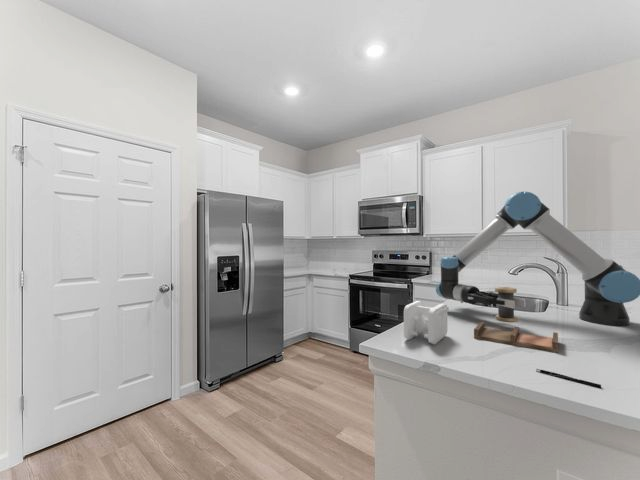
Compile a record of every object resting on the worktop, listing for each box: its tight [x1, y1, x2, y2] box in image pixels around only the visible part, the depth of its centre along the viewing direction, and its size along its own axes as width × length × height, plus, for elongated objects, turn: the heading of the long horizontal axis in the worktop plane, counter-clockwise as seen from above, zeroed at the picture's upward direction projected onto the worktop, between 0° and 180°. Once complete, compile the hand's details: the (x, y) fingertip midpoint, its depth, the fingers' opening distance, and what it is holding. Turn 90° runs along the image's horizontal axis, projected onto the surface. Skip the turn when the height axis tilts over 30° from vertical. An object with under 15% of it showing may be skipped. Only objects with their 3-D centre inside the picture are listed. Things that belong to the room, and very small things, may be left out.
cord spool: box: [494, 286, 518, 323], centre depth 116 cm, size 7×7×12 cm
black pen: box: [535, 368, 602, 389], centre depth 74 cm, size 12×1×1 cm, turn 43°
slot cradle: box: [473, 321, 559, 354], centre depth 102 cm, size 23×12×3 cm, turn 52°
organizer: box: [403, 300, 450, 345], centre depth 104 cm, size 15×11×12 cm
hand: (519, 303), depth 111 cm, fingers closed on cord spool, 5 cm apart
